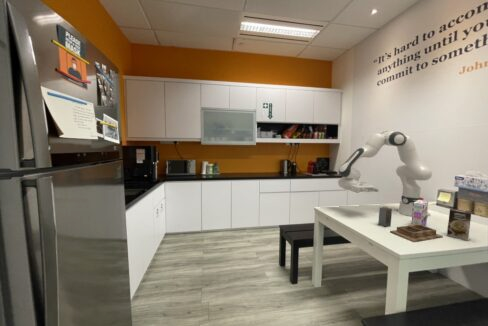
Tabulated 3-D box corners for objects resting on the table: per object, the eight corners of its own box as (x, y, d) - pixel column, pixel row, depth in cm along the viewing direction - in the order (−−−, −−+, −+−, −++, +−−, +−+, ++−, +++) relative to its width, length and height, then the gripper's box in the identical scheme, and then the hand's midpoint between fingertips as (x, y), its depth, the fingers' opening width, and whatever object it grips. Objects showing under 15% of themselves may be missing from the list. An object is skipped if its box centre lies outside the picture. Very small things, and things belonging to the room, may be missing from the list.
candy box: (421, 229, 140) (424, 204, 138) (410, 226, 144) (412, 202, 143) (426, 224, 149) (428, 201, 147) (416, 222, 153) (418, 199, 152)
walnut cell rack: (417, 228, 140) (417, 222, 140) (442, 237, 127) (443, 230, 127) (390, 232, 133) (390, 226, 133) (414, 242, 120) (414, 235, 119)
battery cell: (383, 223, 148) (385, 205, 147) (390, 226, 143) (392, 207, 142) (378, 224, 146) (379, 206, 145) (385, 227, 142) (386, 208, 141)
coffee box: (446, 236, 129) (449, 209, 128) (447, 233, 134) (449, 207, 132) (468, 241, 123) (471, 213, 121) (468, 237, 127) (471, 211, 126)
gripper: (347, 182, 161) (363, 186, 149) (366, 182, 169) (383, 186, 156) (346, 190, 162) (362, 195, 149) (365, 190, 170) (382, 195, 157)
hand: (373, 190), depth 153 cm, fingers open, 8 cm apart
